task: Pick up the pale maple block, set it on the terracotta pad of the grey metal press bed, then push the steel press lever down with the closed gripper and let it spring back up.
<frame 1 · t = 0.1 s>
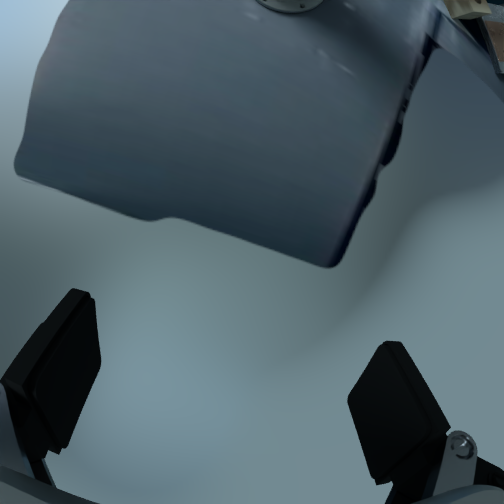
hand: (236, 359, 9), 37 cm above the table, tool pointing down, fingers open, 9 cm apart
maple block: (455, 5, 29), on the table
press: (500, 38, 31), on the table
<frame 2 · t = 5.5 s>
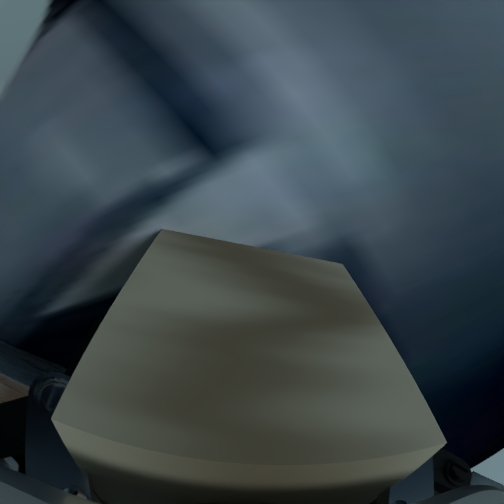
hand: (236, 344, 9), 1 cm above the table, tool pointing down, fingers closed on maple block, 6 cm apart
maple block: (236, 322, 11), on the table, touching gripper
press: (96, 437, 14), on the table
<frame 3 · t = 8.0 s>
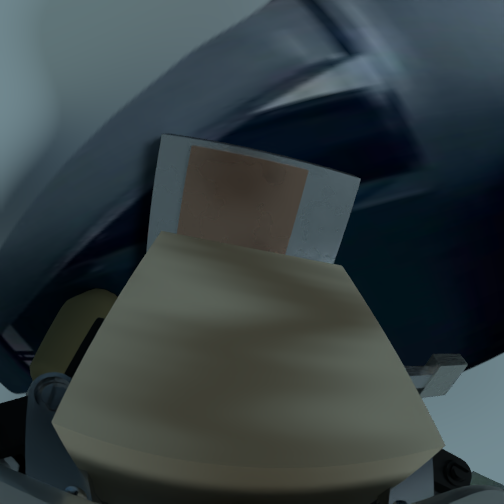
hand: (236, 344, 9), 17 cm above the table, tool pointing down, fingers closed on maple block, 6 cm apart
squeeze bottle: (105, 309, 29), on the table
maple block: (236, 324, 11), point 16 cm above the table, touching gripper
press: (244, 229, 26), on the table
press lever: (367, 378, 20), point 11 cm above the table, hinge at 0.0°
when the fingers open (5 cm above the table, at t = 10.6 s): maple block drops 1 cm, resting on press.
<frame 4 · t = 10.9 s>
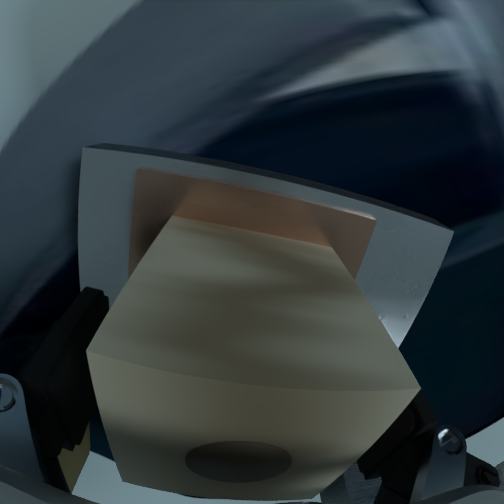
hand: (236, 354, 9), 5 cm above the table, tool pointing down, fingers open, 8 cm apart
squeeze bottle: (59, 392, 18), on the table
maple block: (237, 301, 12), point 2 cm above the table, touching press
press: (248, 312, 15), on the table
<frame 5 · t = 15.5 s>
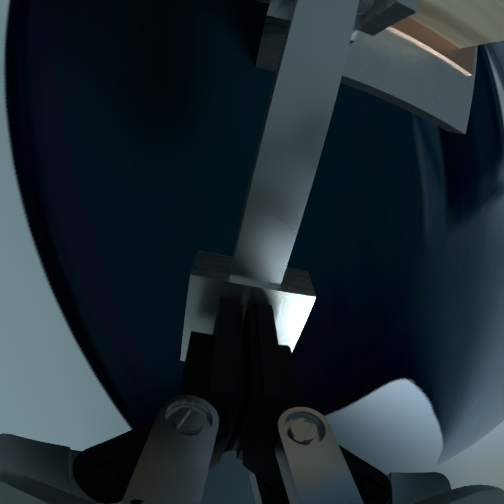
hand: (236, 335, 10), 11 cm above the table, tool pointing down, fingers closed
press: (387, 1, 13), on the table
press lever: (306, 75, 7), point 10 cm above the table, hinge at -3.9°, touching gripper
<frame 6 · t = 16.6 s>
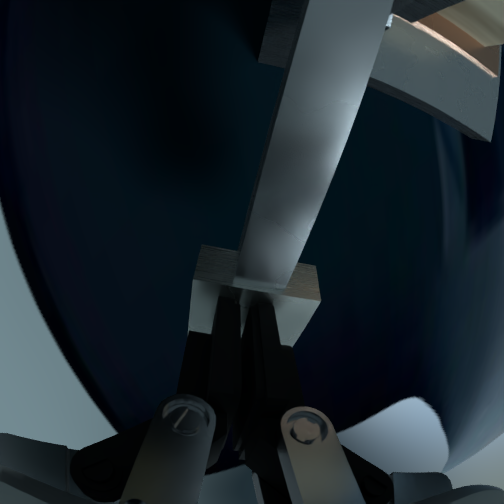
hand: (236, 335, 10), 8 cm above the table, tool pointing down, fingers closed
press lever: (325, 68, 5), point 9 cm above the table, hinge at -18.0°, touching gripper
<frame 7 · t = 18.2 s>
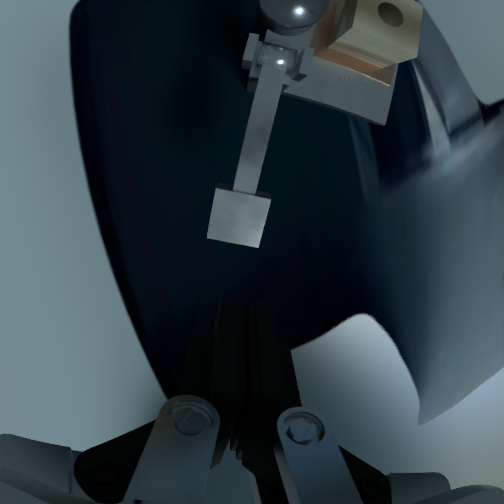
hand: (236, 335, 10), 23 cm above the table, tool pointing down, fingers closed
maple block: (360, 33, 22), point 2 cm above the table, touching press
press: (333, 39, 24), on the table
press lever: (264, 106, 19), point 10 cm above the table, hinge at -5.9°
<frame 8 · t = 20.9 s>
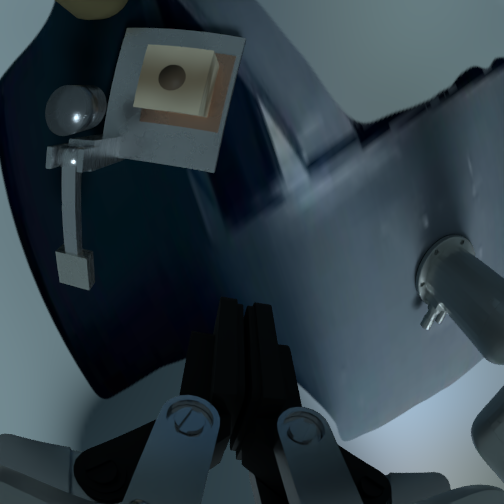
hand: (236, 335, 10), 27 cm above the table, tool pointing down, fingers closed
squeeze bottle: (109, 1, 24), on the table
maple block: (186, 87, 28), point 2 cm above the table, touching press
press: (171, 95, 30), on the table
press lever: (71, 193, 24), point 10 cm above the table, hinge at -5.2°
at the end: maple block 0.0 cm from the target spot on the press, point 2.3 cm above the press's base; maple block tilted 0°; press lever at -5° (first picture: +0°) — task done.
